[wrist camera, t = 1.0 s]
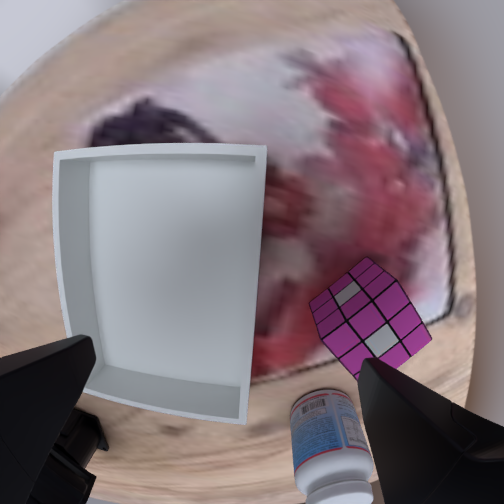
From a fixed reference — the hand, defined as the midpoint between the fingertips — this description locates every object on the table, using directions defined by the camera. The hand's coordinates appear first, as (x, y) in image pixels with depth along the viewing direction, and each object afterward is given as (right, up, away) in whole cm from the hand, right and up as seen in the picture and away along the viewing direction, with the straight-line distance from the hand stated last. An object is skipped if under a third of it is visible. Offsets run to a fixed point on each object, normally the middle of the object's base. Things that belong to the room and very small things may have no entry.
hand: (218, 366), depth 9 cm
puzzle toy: (+9, -1, +13) cm, 16 cm away
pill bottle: (+7, -11, +16) cm, 21 cm away
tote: (-6, +1, +13) cm, 15 cm away
